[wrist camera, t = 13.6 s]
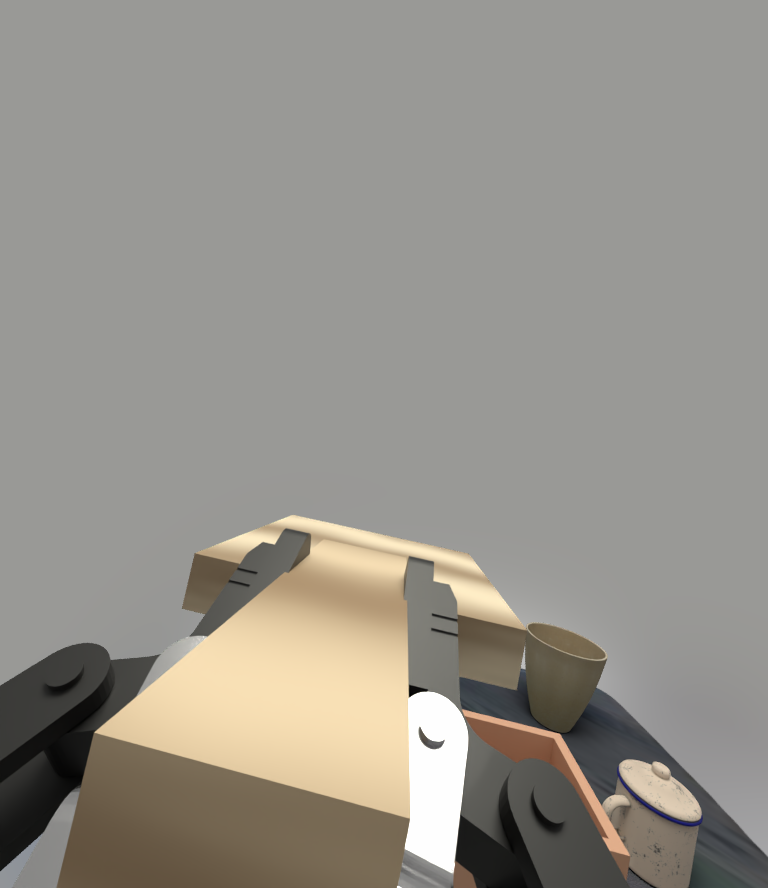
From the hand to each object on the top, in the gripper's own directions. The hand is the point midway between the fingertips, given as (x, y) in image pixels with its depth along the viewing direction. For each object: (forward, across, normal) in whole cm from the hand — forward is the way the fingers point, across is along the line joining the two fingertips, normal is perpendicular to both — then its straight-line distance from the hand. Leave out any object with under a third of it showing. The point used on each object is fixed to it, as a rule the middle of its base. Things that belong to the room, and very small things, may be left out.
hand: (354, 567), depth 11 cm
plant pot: (+40, -39, +70) cm, 89 cm away
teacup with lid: (+17, -40, +56) cm, 71 cm away
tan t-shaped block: (+1, 0, +5) cm, 5 cm away
